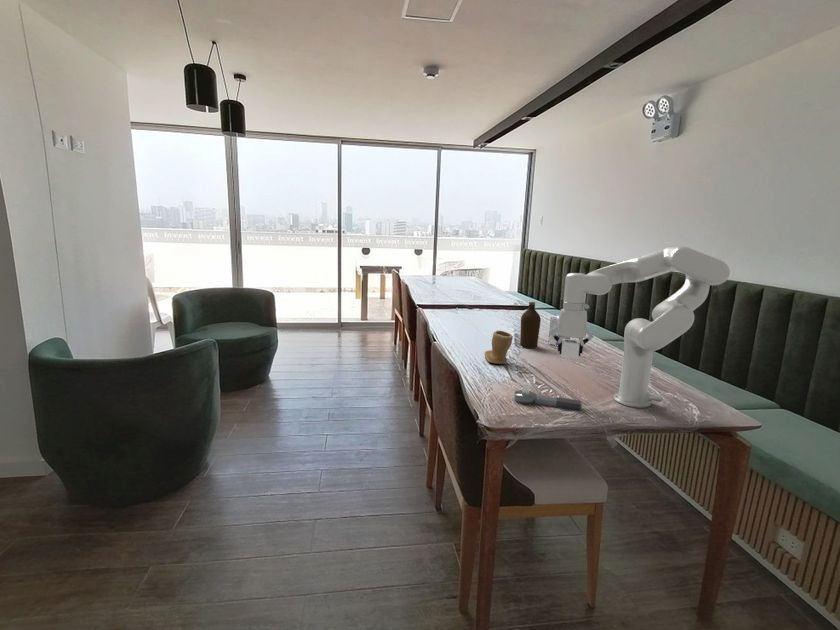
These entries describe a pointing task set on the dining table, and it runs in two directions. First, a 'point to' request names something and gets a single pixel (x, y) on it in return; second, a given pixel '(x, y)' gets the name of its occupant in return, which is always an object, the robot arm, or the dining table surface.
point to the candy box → (552, 325)
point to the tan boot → (499, 347)
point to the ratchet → (544, 399)
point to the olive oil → (530, 327)
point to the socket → (570, 349)
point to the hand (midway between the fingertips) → (569, 353)
